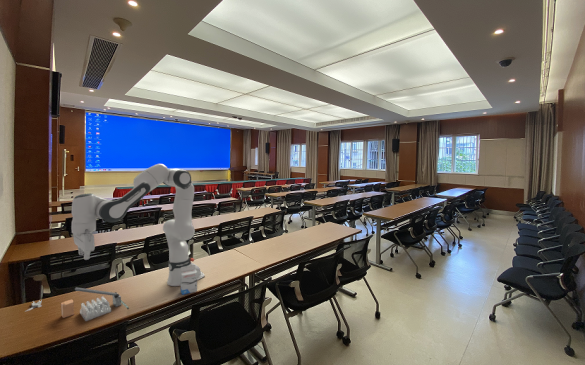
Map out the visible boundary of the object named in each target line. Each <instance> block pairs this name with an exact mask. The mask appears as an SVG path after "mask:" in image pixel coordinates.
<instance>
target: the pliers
mask: <svg viewBox="0 0 585 365" xmlns="http://www.w3.org/2000/svg"><path fill="white" fill-rule="evenodd" d="M40 300H41V301H40ZM40 300H39V301H37V302H35V301H34V300H33V301H32V302H33V303H32V302H31V307H30V308H28V309H27V310H25V312H29V311H31V310H34V309H35V308H40V307H42V299H40Z"/></svg>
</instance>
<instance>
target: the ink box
mask: <svg viewBox="0 0 585 365" xmlns="http://www.w3.org/2000/svg"><path fill="white" fill-rule="evenodd" d="M195 265H196V264H195ZM195 265H190V266H185V267H181V286H180V294H181V295H187V294H192V293H196V291H197V292H198V280H197V271H196V270H195ZM188 267H189V268H190V267H191V268H190V269H186V268H188Z"/></svg>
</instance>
